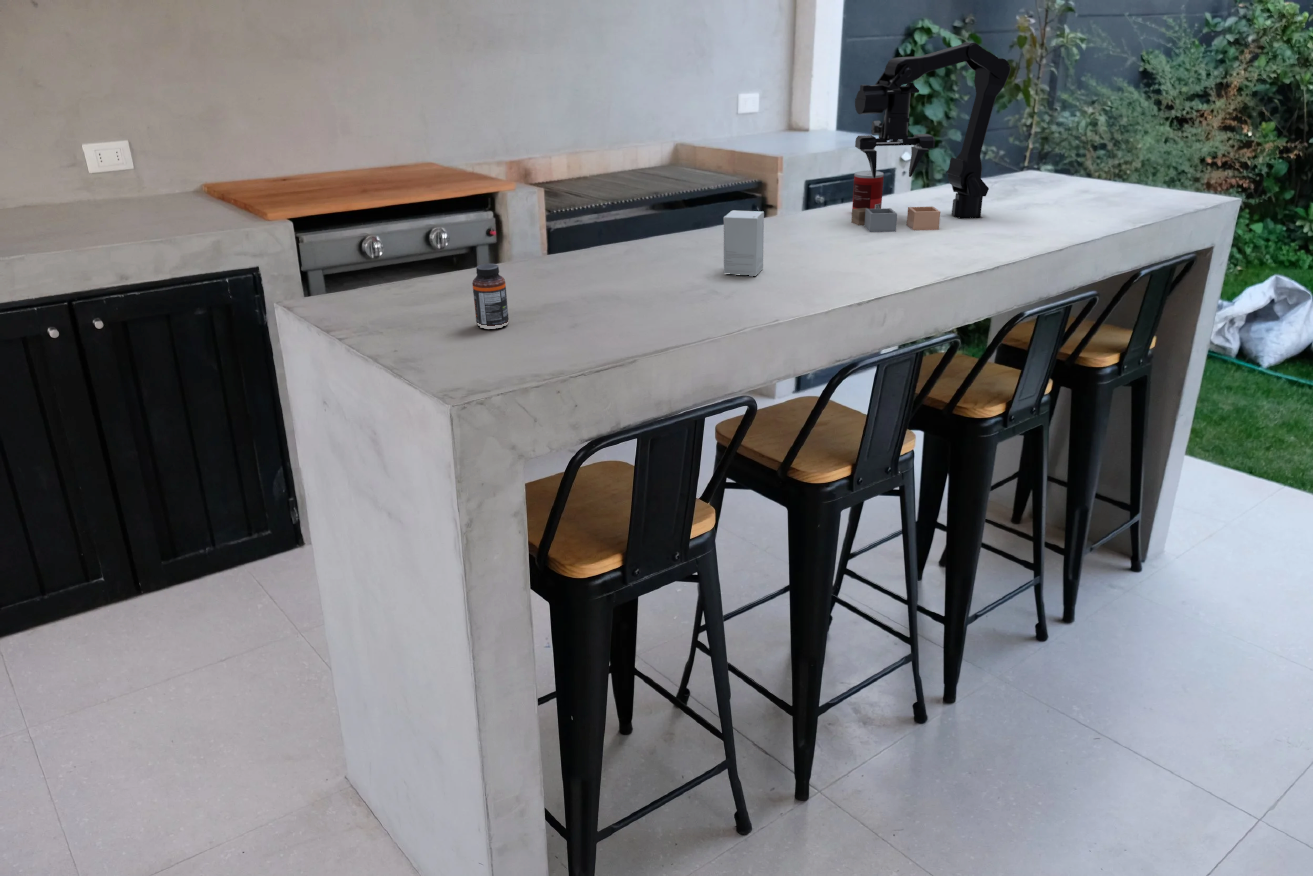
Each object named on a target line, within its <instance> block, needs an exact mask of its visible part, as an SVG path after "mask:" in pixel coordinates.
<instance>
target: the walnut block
mask: <svg viewBox="0 0 1313 876" xmlns="http://www.w3.org/2000/svg"><path fill="white" fill-rule="evenodd" d="M866 209H868V208H858V209H852V208H851V220H850V222H851V223H852V224H854V225H856V226H864V224H865V210H866Z"/></svg>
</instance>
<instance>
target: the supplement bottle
mask: <svg viewBox="0 0 1313 876" xmlns="http://www.w3.org/2000/svg"><path fill="white" fill-rule="evenodd" d="M475 270H476V272H475V273H476V276H475V277H474V278H473V280H472V291H473V292H472V293H473V294H472V295H473V301H474V312H475V322H476V324H477V323H479V324H481V325H487V326H495V325H502V324H504V323H507V322H508V320H510V319H509V318H510V317H509V309H508V307H509V306H508V298H507V286H506V285H507V284H506V280H505V278H504V277H503V276H502V275H500V269H499V265H498V264H496V263H482V264H479V265H477V266H476V269H475Z"/></svg>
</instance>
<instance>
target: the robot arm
mask: <svg viewBox="0 0 1313 876" xmlns="http://www.w3.org/2000/svg"><path fill="white" fill-rule="evenodd" d="M964 62H965V63H966V65H967V66H968V67H969V68H970V69H971V70H972V71H973V72H975V73H974V80H973V82H974V88H975V97H974V102H973V105H972V109H971V112H970V116H969V121H968V124H967V128H966V132H965V136H964V139H963V143H962V147H961V150H960V152H959V154H958V155H957V156H956V157H954V156H953V157H950V159H949V165H948V169H947V171H946V174H947V180H948V182H949V184H950V185H951V188H952V191H953V193H955V195H954V196H955V197H954V199H952V207H951V215H952V216H953V217H955V218H956V219H959V220H963V219H964V220H965V219H966V220H967V219H983V217H982V216H981V214H982V209H983V208H982V207H983V199H984V197H986V196H987V194H988V192H989V187H988V186H987V185H986V183H985V182H984V180H982V172H983V166H982V158H981V155H982V150H983V146H984V143H985V140H986V135H987V132H988V128H989V124H990V121H991V117H992V112H993V109H994V105H995V102H996V99H997V96H998V95H999V94H1000V93H1001V91H1002V90H1003V89H1004V87H1005V85H1006V84H1007V80H1008V78H1009V76H1010V74H1011V65H1010V64H1009V62H1008V60H1006V59H1005V58H1001V57H998V56H996V55H995V54H993V53H992V52H990V51H988V50H986V49H984V48H983V47H982V46H981V45H979V44H978V43H977V42H972V41H971V42H970V41H969V42H968V41H964V42H963V43H961V44H958V45H955V46H950V47H947V48H944V49H941V50H938V51H934V52H929V53H927V54H923V55H917V56H903V57H899V56H898V57H893V58H891V59H889V60H888V61H887V63H886V65H885V68H884V71H883V72H882V74H881V75H880V76H879V78H878V79H877V81H876V83H875V84H872V85H870V84H860V85H859V87H860V88H859V90H858V91H857V94H856V97H855V98H854V99H855V100H854V107H855V111H856V113H857V114H858V115H874V114H877V115H878V114H882V113H885V114H884V115H883V122H881V120H872V121H871V122H872V123H871V134H869V135H866V134H865V135H857V136H856V137H855V142H854V148H856V149H858V150H860V152H862V153H864V154H865V155H866V158H867V159H868V163H869V168H870V171H871V172H872V176H873V178H875V176H876V171H877V159H878V158H877V157H878V156H877V155H878V151H877V150H876V149H875V148H876V147H889V146H891V147H894V146H898V147H899V146H911V148H910V149H911V155H910V161H909V168H908V177H909V178H912V177H913V175H914V173H915V171H916V168H917V167H918V165H919V162H920V161H921V159H922V158H923V156H924V155H925V154H926V153H928V152H930V149H935V147H936V146H935V145H936V139H935V137H934V136H933V135H931V134H929V133H914V135H913V137H909V135H908V129H909V123H910V106H911V94H918V93H920V89H919V88H917V86H916V85H915V83H914V82H915V81H917V80H918V79H920V78H921V77H923V76H925V74H927V73H931V72H932V71H937V70H940V69H944V68H947V67H951V66H953V65H954V66H955V65H957V64H960V63H961V64H962V63H964ZM884 111H885V112H884ZM874 135H875V136H876V135H877V136H878V138H877V137H875V136H874Z"/></svg>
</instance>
